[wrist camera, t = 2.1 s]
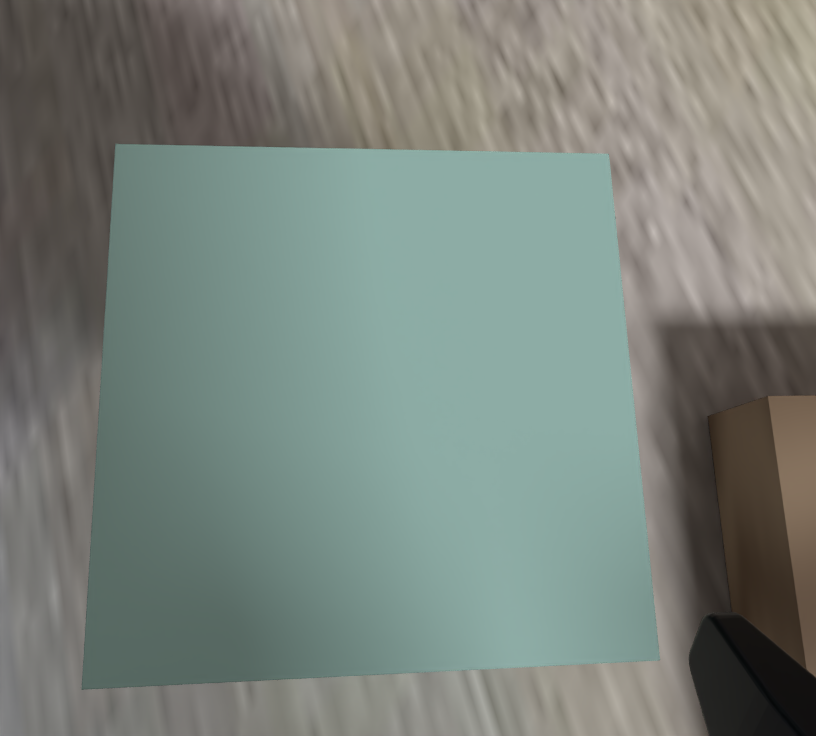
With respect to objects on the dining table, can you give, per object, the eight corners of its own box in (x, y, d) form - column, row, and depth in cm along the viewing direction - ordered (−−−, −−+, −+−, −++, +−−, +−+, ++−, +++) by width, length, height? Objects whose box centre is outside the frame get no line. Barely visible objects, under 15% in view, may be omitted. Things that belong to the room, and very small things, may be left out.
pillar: (447, 582, 19) (660, 659, 7) (251, 590, 19) (81, 688, 6) (439, 393, 20) (608, 153, 8) (254, 395, 20) (115, 143, 7)
